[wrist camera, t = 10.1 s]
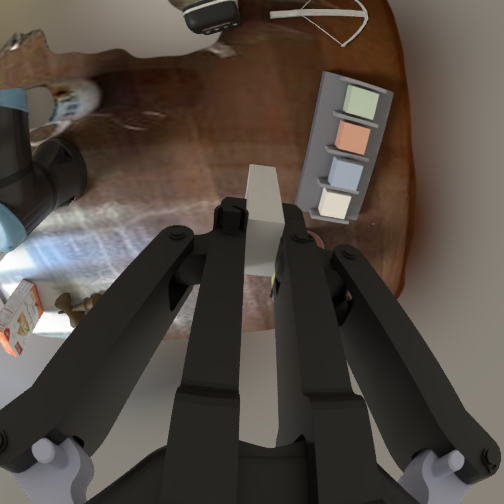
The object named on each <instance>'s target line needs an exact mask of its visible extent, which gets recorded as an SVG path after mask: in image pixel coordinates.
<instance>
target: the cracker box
mask: <svg viewBox="0 0 504 504" xmlns="http://www.w3.org/2000/svg"><path fill="white" fill-rule="evenodd" d="M42 314H43V310H42V307H41V304H40V300H39V297H38V293H37V290H36V286H35V284H33V283H31V282H29V281H26V280H24V279H23V280H22V281H21V282H20V284H19V285H18V287H17V288H16V289H15V291H14V292H13V293H12V295H11V296H10V298H9V299H8V301H7V302H6V304H5V305H4V307H3V308H2V310H1V311H0V342H1V344H2V345H3V347H4V349H5V350H6V352H8V353H9V354H11V355H13V356H14V357H16V358H18V357H19V356H20V354H21V352H22V350H23V348H24V346H25V344H26V342H27V340H28V338H29V336H30V334H31V333H32V331H33V329H34V328H35V326H36V324H37V322H38V321H39V319H40V317H41V315H42Z"/></svg>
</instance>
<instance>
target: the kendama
mask: <svg viewBox="0 0 504 504" xmlns="http://www.w3.org/2000/svg"><path fill="white" fill-rule="evenodd" d="M100 298H101V296H100V295H99V294H94V295H93V296H92V298H88V297H87V298H85V299H84V300H83V302H82V303H80V304H79V305H76V306H74V307H73V306H72V304H71V302H70V297H69V294H68V293H64V294H62V295H61V296H59V297H58V299H57V300H56V302H55V306H56V307H57V308H59V309H61V310H62V311H59V312H58V314H62V313H66V314H67V315H68V316H69V319H70V324H71V326H72V327H73V328H75V327H76V326H77V325H78V324H79V323H80V322H81V320H82V319H83V318H84V317H85V315H86V314H85V313H83V312H81V311H86V312H87V313H88V312H89V311H90V309H91V308H92V307H93V306H94V305H95V303H96V302H97V301H98V300H99V299H100Z"/></svg>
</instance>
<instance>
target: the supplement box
mask: <svg viewBox="0 0 504 504" xmlns="http://www.w3.org/2000/svg"><path fill="white" fill-rule="evenodd" d="M7 253H8V252H0V261H1V260H2V259H3V257H4V256H5V255H6V254H7Z"/></svg>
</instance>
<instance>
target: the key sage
mask: <svg viewBox="0 0 504 504" xmlns="http://www.w3.org/2000/svg"><path fill="white" fill-rule="evenodd" d="M378 97H379V94H377V93H374V92H371V91H368V90H365V89H361V88H358V87H355V86H350V85H348V88H347V93H346V97H345V102H344V106H343V111H345V112H347V113H350V114H354V115H357V116H361V117H364V118H368V119H371V120H373V118H374V114H375V110H376V106H377V102H378Z"/></svg>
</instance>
